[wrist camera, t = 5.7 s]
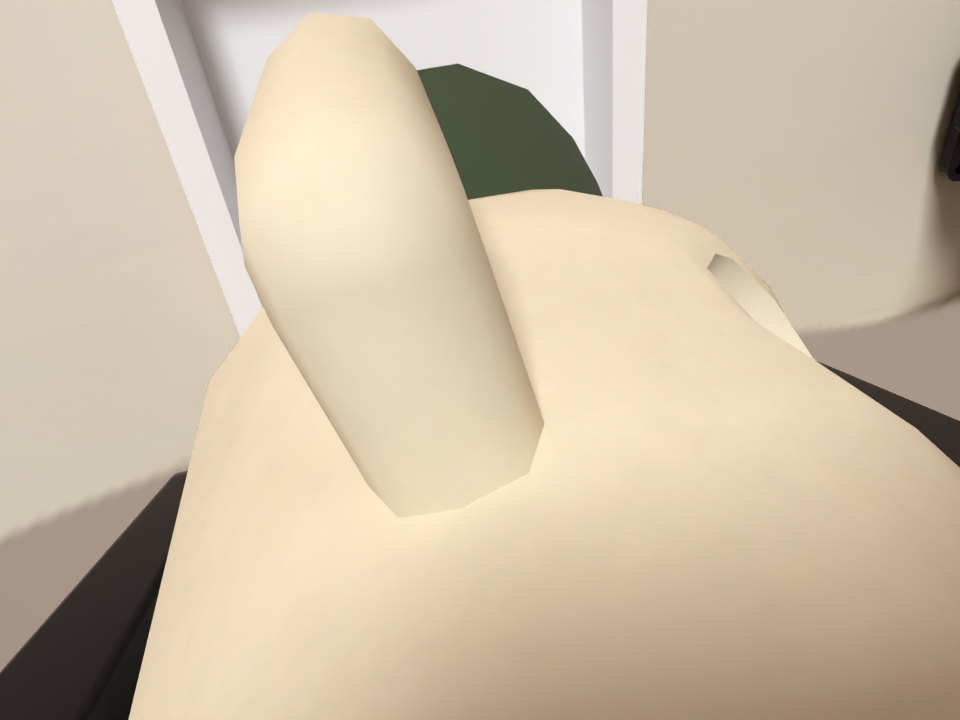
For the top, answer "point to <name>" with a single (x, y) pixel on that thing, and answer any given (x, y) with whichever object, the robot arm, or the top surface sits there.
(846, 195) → the top surface
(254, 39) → the white open box
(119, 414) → the top surface
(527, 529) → the character mug
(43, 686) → the robot arm
